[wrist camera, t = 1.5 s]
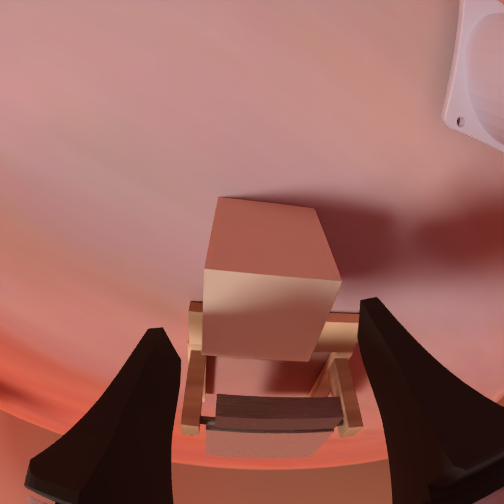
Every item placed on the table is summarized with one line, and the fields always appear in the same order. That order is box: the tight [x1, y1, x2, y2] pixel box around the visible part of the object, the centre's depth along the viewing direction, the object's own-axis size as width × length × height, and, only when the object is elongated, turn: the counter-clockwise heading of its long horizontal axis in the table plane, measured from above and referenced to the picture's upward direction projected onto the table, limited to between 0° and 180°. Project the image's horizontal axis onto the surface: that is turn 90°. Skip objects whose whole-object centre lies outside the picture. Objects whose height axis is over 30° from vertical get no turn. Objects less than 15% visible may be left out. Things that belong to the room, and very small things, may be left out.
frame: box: [181, 302, 363, 437], centre depth 19 cm, size 11×11×6 cm
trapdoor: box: [206, 394, 344, 458], centre depth 18 cm, size 8×8×1 cm
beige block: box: [202, 197, 342, 361], centre depth 14 cm, size 5×5×6 cm
